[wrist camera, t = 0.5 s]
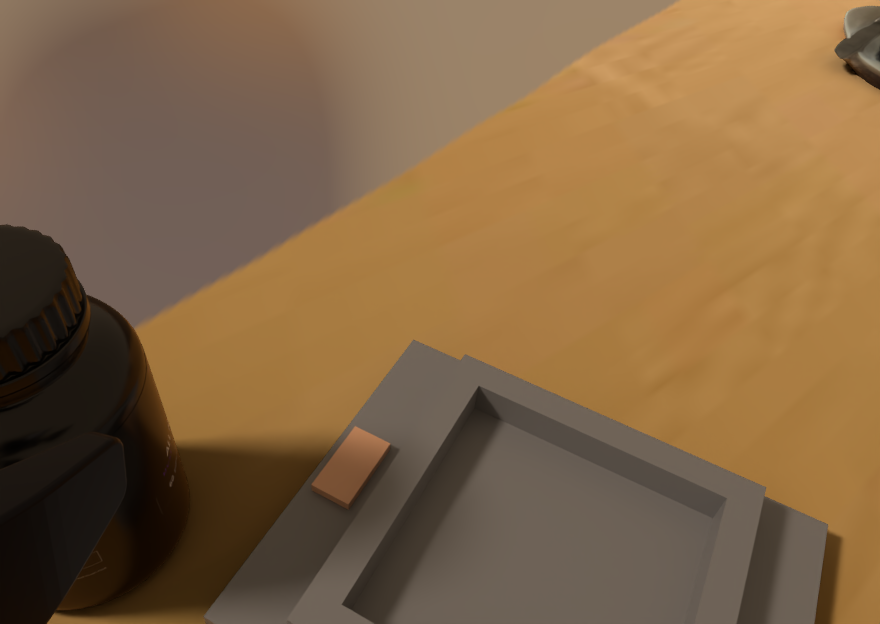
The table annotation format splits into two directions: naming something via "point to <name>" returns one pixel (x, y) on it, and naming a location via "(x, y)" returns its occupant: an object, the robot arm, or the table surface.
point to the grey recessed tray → (519, 520)
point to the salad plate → (862, 43)
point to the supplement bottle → (86, 407)
